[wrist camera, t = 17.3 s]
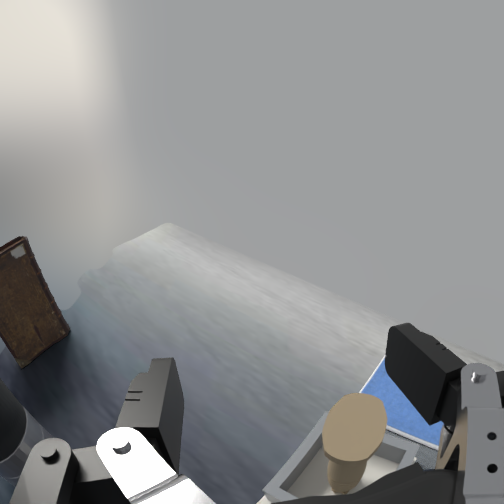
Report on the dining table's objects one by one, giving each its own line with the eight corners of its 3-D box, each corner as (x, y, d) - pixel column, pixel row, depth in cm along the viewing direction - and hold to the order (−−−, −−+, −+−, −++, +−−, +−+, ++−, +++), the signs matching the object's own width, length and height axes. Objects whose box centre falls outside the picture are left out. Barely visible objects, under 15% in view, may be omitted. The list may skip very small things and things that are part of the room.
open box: (342, 576, 17) (346, 576, 14) (241, 523, 25) (231, 514, 23) (414, 461, 28) (425, 444, 25) (322, 427, 36) (322, 407, 34)
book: (67, 323, 66) (24, 231, 55) (75, 335, 62) (27, 237, 50) (17, 355, 56) (-35, 266, 45) (21, 370, 51) (-37, 275, 40)
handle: (370, 464, 28) (392, 397, 22) (354, 510, 24) (375, 465, 17) (331, 457, 31) (337, 388, 24) (313, 501, 26) (311, 453, 19)
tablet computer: (490, 393, 32) (493, 388, 32) (465, 463, 25) (468, 459, 24) (385, 356, 45) (386, 351, 45) (345, 413, 38) (345, 408, 37)
